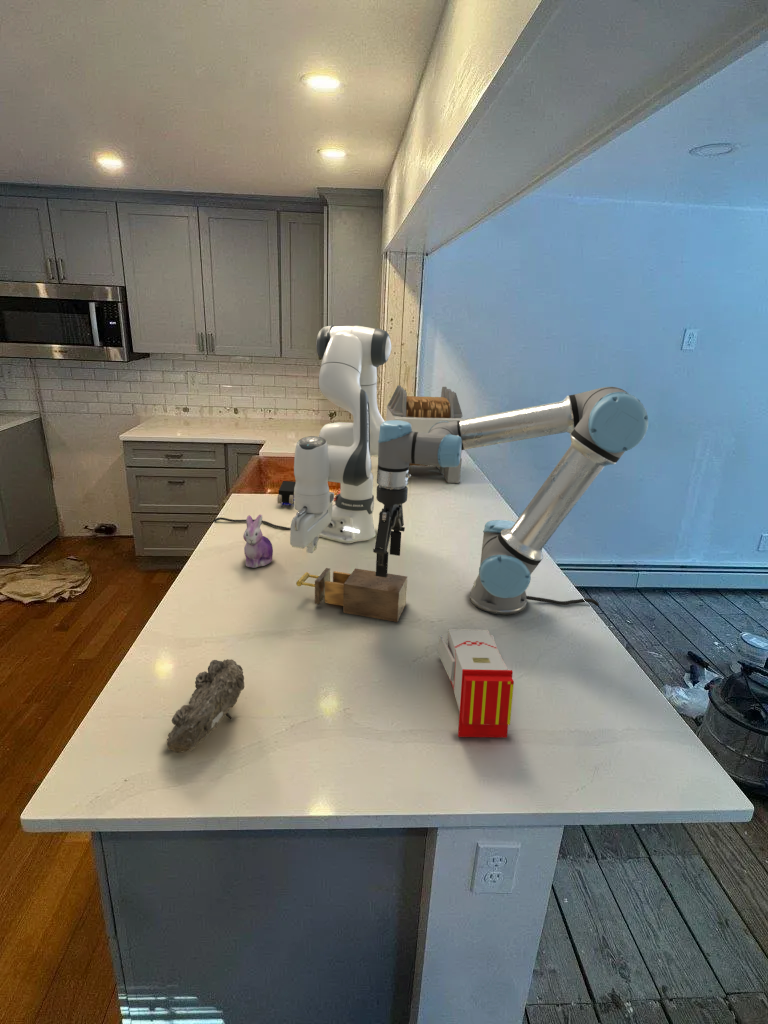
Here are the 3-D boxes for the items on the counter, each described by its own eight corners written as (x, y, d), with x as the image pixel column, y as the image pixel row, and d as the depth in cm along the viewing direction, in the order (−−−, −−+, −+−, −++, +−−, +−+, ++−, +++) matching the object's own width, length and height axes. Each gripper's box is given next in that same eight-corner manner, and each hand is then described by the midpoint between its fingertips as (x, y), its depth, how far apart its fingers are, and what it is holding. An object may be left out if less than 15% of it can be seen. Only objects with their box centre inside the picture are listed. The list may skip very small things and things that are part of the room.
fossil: (192, 660, 117) (244, 628, 112) (224, 691, 120) (276, 661, 115) (142, 746, 98) (202, 712, 93) (182, 779, 101) (242, 748, 96)
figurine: (247, 571, 167) (245, 523, 162) (239, 557, 175) (236, 512, 170) (278, 566, 171) (277, 519, 166) (269, 553, 179) (267, 508, 174)
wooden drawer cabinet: (343, 612, 147) (343, 583, 144) (354, 596, 156) (355, 568, 153) (397, 622, 144) (399, 592, 141) (405, 604, 152) (407, 576, 150)
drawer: (294, 600, 150) (294, 577, 148) (306, 586, 158) (306, 564, 156) (363, 612, 146) (364, 589, 144) (372, 597, 154) (373, 575, 151)
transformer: (382, 463, 289) (386, 382, 275) (445, 464, 293) (451, 384, 279) (390, 482, 257) (394, 392, 243) (460, 483, 261) (468, 394, 247)
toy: (488, 613, 130) (523, 677, 101) (484, 667, 133) (517, 744, 104) (435, 612, 130) (455, 676, 101) (432, 666, 133) (451, 743, 103)
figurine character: (294, 513, 219) (298, 496, 232) (293, 495, 215) (298, 479, 229) (276, 512, 219) (282, 496, 232) (276, 494, 215) (281, 479, 229)
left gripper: (307, 516, 134) (307, 569, 139) (336, 491, 153) (335, 538, 157) (283, 512, 136) (284, 565, 140) (314, 488, 154) (314, 535, 159)
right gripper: (395, 502, 125) (390, 588, 132) (418, 473, 148) (413, 548, 155) (362, 498, 127) (359, 583, 134) (390, 470, 149) (386, 544, 157)
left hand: (311, 551), depth 149 cm, fingers closed
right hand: (388, 565), depth 144 cm, fingers open, 13 cm apart
